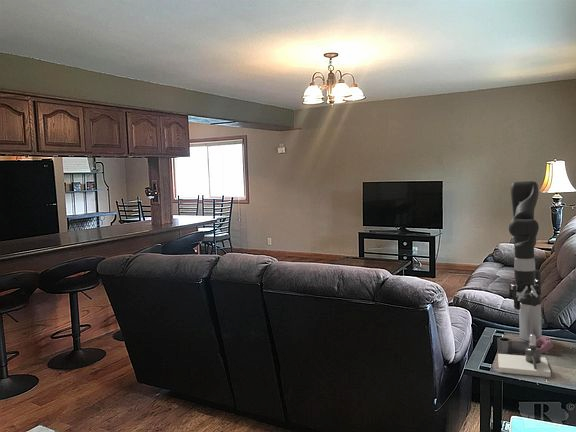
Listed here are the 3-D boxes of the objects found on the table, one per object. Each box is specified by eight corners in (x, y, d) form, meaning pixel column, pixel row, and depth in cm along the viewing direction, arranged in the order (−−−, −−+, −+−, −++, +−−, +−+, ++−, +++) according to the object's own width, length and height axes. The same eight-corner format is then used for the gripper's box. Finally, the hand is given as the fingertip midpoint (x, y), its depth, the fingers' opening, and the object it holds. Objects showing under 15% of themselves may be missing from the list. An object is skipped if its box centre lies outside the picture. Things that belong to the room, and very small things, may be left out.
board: (497, 358, 197) (497, 353, 197) (545, 362, 190) (545, 357, 190) (499, 372, 183) (499, 367, 183) (550, 377, 176) (550, 372, 176)
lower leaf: (525, 357, 191) (524, 331, 190) (540, 359, 189) (539, 332, 188) (527, 368, 181) (526, 340, 180) (543, 369, 179) (542, 342, 178)
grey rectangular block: (497, 350, 206) (497, 336, 206) (528, 352, 201) (528, 339, 201) (498, 354, 201) (497, 341, 201) (529, 357, 196) (529, 343, 196)
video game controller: (549, 357, 199) (556, 343, 198) (538, 352, 199) (546, 338, 198) (541, 349, 208) (548, 335, 207) (531, 344, 209) (538, 331, 208)
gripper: (530, 264, 191) (531, 302, 192) (503, 269, 186) (504, 308, 188) (546, 267, 184) (546, 307, 185) (518, 272, 179) (519, 313, 181)
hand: (525, 307), depth 186 cm, fingers open, 8 cm apart
